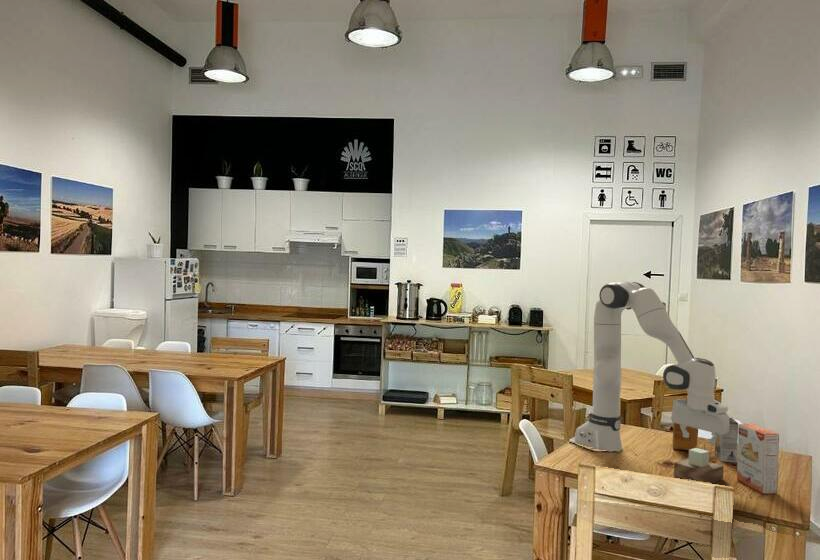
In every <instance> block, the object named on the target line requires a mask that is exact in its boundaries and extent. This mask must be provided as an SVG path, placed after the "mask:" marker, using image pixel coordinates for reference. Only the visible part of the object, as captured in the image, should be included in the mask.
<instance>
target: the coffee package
mask: <svg viewBox="0 0 820 560" xmlns="http://www.w3.org/2000/svg"><path fill="white" fill-rule="evenodd" d="M687 398H688V396H686V397H683V398H682V400H687ZM686 431H687V432H688V433H689V438H685V437H683V432H682V430H681V428H680V424H677V423H673V428H672V444H671V445H672V449H673V450H679V451H688V452H689V450H690V449H694V448H697V445H698V438H699V429H696V428H692V427H689V426H687V427H686Z"/></svg>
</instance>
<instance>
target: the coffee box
mask: <svg viewBox="0 0 820 560" xmlns="http://www.w3.org/2000/svg"><path fill="white" fill-rule="evenodd" d="M729 425H730V427H729V432H728V433H727V434H725V435H720V434H718V436H717V438H716V439H715V441H714V456H715V457H716V458H717V459H718V461H720V462H725V463H736V464H738V428H739V422H737V421H736V420H735V419H734V418H733V417H729Z"/></svg>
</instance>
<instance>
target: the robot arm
mask: <svg viewBox="0 0 820 560" xmlns="http://www.w3.org/2000/svg"><path fill="white" fill-rule="evenodd" d="M598 295H599V299H598V300H597V302H596V304H595V308H594V315H593V376H592V378H593V379H592V380H593V381H592V412H590V413H587V414H586V417H587V418H589V419H588V421H585V423H582V424H581V425H579V426H578V427H576V429H575V431H574V432H575V433H574V437H572V438H570V439H569V441H568V442H569V443H570V441H571V442H573V443H577V444H580V445H583V446H587V447H593V448H591V449H599V450H606V451H619V452H621V451H620V450H622V449H623V448H624V447H623V446H622V445H623V444H622V440H621V439H622V438H621V422H622V421H621V420H622V419H621V415H620V413H621V392H622V391H621V388H622V313H623V311H625V310H633V312H634V314H635V317H636V319H637V321H638V323H639V326H640V328H641V329H642V331H643V332H644V333H645V334H646V335H647V336H649V337H651V338H654V339H657V340H659V341H661V342H662V343H664V344H665V345H666V346H667V347H668V348H669V349H670V351H671V353H672V355H673V357H674V358H675V360H676V362H677V363H675V364H671V365H668V366H666V367H665V369H664V370H663V374H662V379H663V382H664V384H665V386H666V387H667V388H669V389H671V390H675V391H681V390H682V391H684V390H685V391H687V397H688V398H687V400H683V398H682V399H681V398H677V399H674V400H673V402H672V411H671V416H670V417H671V418H670V420H671V422H672V423H673V424H674V423H677V424H680V428H681V430H682V432H683V437H685V438H689V433H688V432H687V431H686V427H687V426H689V427H692V428H696V429H698V430H701V431H705V432H709V433H711V436H712V437H711V438H708V439H707V444H708V445H711V446H715V439H716V438H717V436H718V434H720V435H725V434H727V433H728V432H729V427H730V425H729V418H730V417H729V414H728V413H727V412H728V411H729V407H728V406H727V405H725V404H723V403H722V402H720V401H718V400H716V399H715V392H714V390H715V387H716V368H715V364H714V363H713V362H712V361H710V360H709V359H706V358H701V357H695V356H694V355H693V352H691V349H690V347H689V346H688V344H687V342H686V341H685V339H684V337H683V336H682V334H681V333H680V331H679V330H678V328H677V327H676V326H675V324H674V323H673V322H672V320H671V318H670V315H669V314H668V312H667V310H666V308H665V306H664V304H663V302H662V300H661V298H660V297H659V295H658V294H657V293H656V291H655V290H654V289H652V288H651V287H646V286H644V285H643V284H642V283H640V282H636V281H634V282H633V281H632V282H631V281H620V282H610V283H607V284H604V285H602V287H601V288H600V290H599V294H598ZM573 443H572V444H573ZM623 450H624V449H623ZM623 450H622V451H623Z"/></svg>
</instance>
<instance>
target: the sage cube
mask: <svg viewBox="0 0 820 560" xmlns="http://www.w3.org/2000/svg"><path fill="white" fill-rule="evenodd" d="M688 458H689V461H688V463H689V464H692V465H696V466H699V467H704V466H707V465H709V462H710V450H705V449H702V448H698V447H696V448H694V449H690V450H689V451H688Z"/></svg>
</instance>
